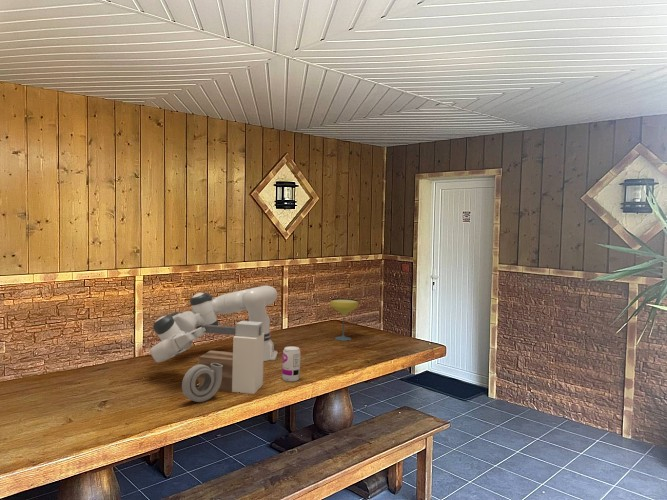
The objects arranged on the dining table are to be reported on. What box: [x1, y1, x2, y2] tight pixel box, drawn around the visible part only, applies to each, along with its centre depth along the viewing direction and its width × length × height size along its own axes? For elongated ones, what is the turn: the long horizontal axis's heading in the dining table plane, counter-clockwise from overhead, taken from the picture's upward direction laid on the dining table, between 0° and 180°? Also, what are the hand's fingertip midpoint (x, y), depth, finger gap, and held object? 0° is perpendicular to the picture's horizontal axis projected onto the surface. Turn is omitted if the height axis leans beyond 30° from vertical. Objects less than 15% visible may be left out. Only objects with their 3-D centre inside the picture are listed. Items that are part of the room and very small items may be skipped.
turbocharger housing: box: [181, 363, 223, 403], centre depth 208 cm, size 17×6×15 cm, turn 137°
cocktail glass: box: [329, 297, 359, 342], centre depth 326 cm, size 18×18×25 cm
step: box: [198, 350, 233, 393], centre depth 227 cm, size 12×16×14 cm
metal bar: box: [202, 324, 236, 336], centre depth 225 cm, size 3×20×3 cm, turn 81°
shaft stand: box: [232, 320, 264, 395], centre depth 224 cm, size 12×10×29 cm
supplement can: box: [281, 345, 301, 383], centre depth 239 cm, size 8×8×15 cm
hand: (207, 327), depth 226 cm, fingers closed on metal bar, 3 cm apart
